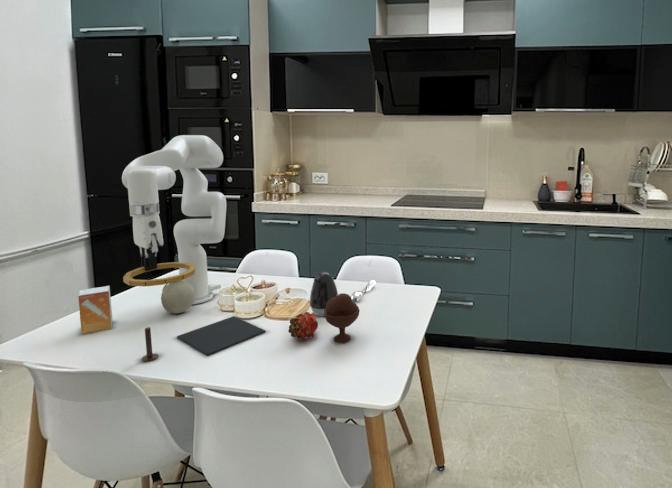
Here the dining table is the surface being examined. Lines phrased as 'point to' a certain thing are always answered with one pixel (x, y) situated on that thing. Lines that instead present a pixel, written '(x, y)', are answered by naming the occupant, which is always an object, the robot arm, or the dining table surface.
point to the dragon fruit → (303, 326)
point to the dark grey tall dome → (322, 292)
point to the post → (149, 347)
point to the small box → (95, 309)
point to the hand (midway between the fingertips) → (149, 268)
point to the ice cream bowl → (341, 315)
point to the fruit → (177, 296)
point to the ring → (134, 282)
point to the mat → (220, 335)
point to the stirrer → (357, 295)
